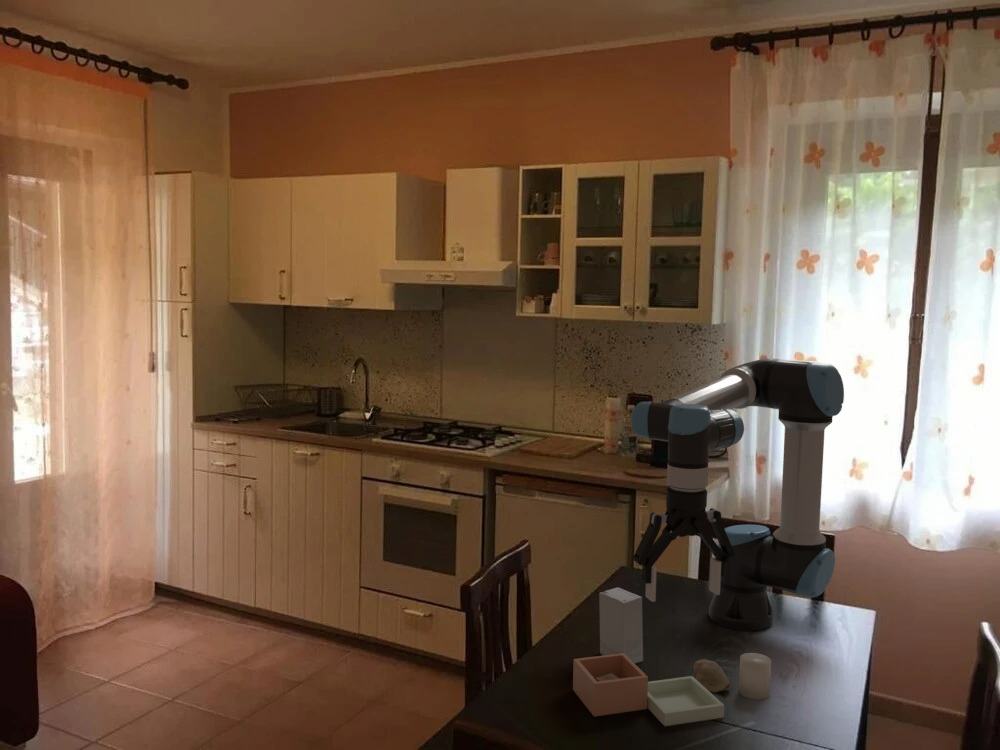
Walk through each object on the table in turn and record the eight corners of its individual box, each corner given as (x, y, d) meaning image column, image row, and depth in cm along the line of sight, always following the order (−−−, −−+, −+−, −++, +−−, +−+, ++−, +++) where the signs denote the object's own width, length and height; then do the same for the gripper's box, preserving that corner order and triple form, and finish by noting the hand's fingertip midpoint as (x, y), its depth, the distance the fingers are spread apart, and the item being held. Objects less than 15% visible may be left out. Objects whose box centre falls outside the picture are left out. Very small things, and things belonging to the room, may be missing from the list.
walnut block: (610, 692, 172) (611, 673, 171) (623, 700, 168) (624, 681, 168) (594, 697, 170) (595, 677, 169) (607, 705, 166) (608, 686, 166)
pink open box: (623, 685, 176) (624, 653, 175) (646, 711, 165) (648, 677, 165) (572, 692, 173) (573, 659, 172) (593, 719, 162) (594, 684, 162)
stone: (724, 692, 179) (698, 660, 182) (740, 679, 175) (713, 647, 178) (705, 708, 175) (679, 675, 178) (721, 695, 171) (694, 662, 174)
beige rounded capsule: (758, 683, 177) (760, 651, 177) (775, 697, 172) (777, 664, 171) (733, 687, 176) (734, 654, 175) (749, 701, 170) (750, 667, 169)
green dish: (691, 690, 174) (692, 675, 174) (723, 720, 163) (724, 705, 162) (635, 697, 171) (636, 683, 171) (664, 729, 159) (665, 713, 159)
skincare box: (643, 663, 186) (645, 597, 185) (622, 670, 183) (624, 602, 181) (617, 649, 193) (619, 585, 192) (597, 655, 190) (598, 590, 188)
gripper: (734, 478, 169) (730, 583, 171) (617, 486, 162) (614, 594, 164) (756, 487, 162) (751, 596, 164) (634, 495, 155) (631, 609, 157)
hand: (682, 595), depth 164 cm, fingers open, 13 cm apart
